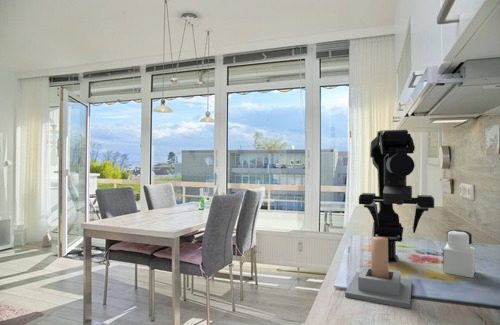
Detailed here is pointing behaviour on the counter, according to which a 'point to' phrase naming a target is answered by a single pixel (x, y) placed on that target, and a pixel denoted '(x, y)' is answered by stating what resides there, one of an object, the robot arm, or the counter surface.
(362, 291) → the socket
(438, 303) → the counter surface
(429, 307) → the counter surface
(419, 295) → the counter surface
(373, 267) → the dowel
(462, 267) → the medicine bottle
